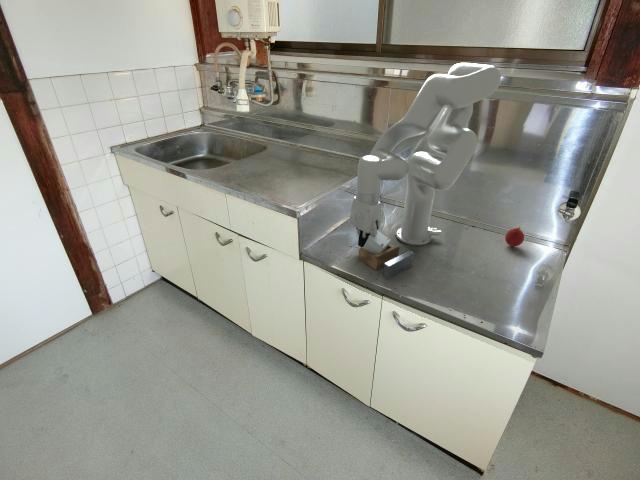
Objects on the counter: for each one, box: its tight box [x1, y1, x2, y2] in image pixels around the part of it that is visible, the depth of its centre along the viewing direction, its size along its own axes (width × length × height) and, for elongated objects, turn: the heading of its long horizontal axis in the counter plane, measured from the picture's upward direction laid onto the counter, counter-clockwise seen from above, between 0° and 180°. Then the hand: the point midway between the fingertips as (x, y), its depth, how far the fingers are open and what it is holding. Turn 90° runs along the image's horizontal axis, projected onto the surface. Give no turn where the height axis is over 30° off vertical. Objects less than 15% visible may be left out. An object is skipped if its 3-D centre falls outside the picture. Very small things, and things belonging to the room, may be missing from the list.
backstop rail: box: [382, 249, 415, 281], centre depth 114 cm, size 2×12×5 cm, turn 129°
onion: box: [504, 226, 525, 248], centre depth 126 cm, size 6×6×8 cm
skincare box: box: [362, 230, 392, 255], centre depth 119 cm, size 6×6×7 cm
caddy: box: [357, 242, 400, 271], centre depth 119 cm, size 8×10×5 cm
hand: (362, 245), depth 123 cm, fingers closed
